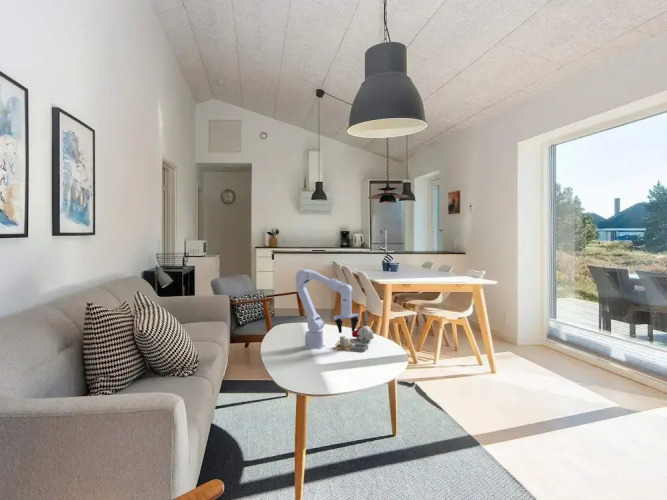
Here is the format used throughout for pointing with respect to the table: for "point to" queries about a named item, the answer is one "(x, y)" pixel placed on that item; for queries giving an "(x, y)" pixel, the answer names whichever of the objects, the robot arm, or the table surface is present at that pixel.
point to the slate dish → (359, 347)
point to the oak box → (343, 348)
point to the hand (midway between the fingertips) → (346, 331)
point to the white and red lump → (363, 334)
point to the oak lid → (339, 342)
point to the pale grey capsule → (346, 343)
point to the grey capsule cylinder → (342, 341)
